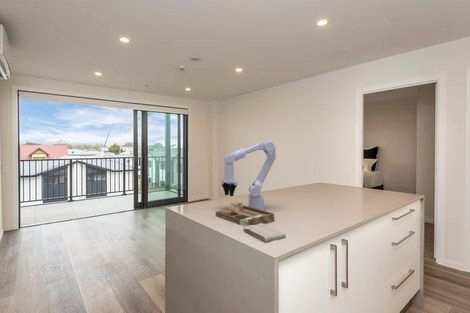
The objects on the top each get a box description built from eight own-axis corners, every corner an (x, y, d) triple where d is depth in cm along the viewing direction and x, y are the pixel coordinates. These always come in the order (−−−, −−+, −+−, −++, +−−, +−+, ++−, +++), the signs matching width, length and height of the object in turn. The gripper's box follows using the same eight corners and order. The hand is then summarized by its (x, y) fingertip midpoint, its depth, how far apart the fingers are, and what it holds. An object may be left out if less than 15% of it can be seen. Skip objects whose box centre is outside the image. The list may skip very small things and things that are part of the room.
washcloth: (261, 227, 122) (261, 221, 122) (287, 238, 107) (287, 231, 107) (241, 231, 116) (241, 225, 116) (265, 244, 101) (265, 236, 101)
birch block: (237, 207, 151) (237, 201, 151) (243, 209, 147) (243, 202, 147) (231, 208, 148) (231, 202, 148) (236, 210, 144) (236, 203, 144)
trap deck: (239, 210, 153) (239, 204, 152) (274, 221, 131) (274, 213, 131) (215, 216, 141) (215, 209, 141) (249, 228, 120) (249, 219, 119)
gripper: (216, 173, 155) (217, 194, 156) (231, 175, 144) (231, 198, 145) (225, 172, 160) (225, 193, 160) (240, 174, 149) (240, 196, 149)
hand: (229, 195), depth 153 cm, fingers open, 4 cm apart
